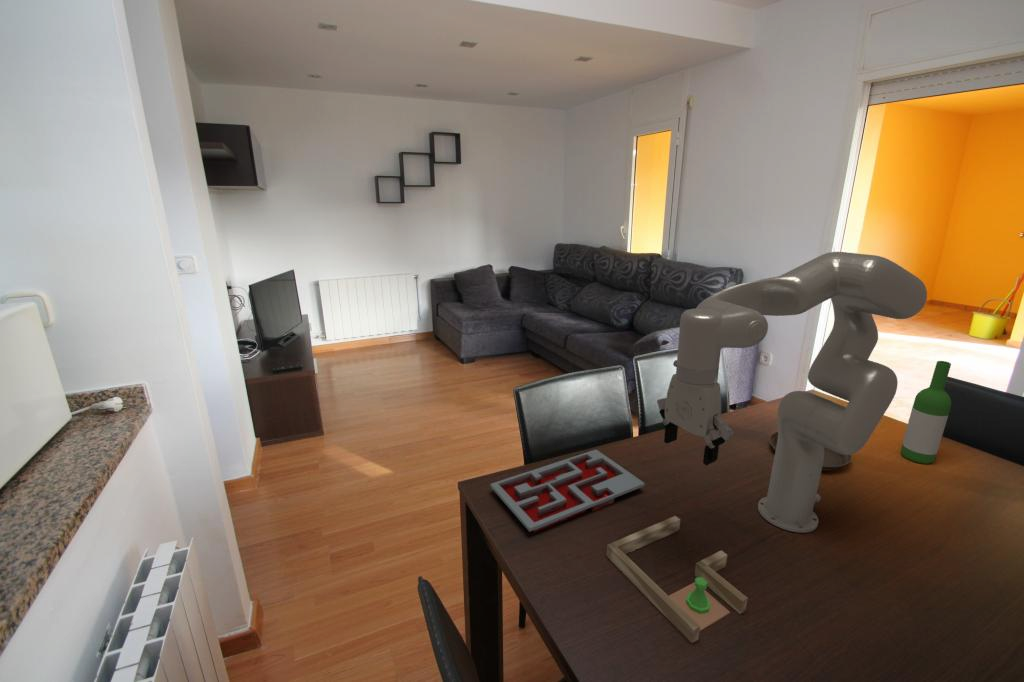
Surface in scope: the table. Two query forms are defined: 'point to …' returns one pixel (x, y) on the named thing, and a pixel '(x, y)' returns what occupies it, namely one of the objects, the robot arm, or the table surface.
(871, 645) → the table surface
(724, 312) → the robot arm
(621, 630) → the table surface
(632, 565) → the bent track
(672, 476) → the table surface
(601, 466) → the maze game
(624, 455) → the table surface
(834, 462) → the plant saucer
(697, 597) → the game piece
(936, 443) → the wine bottle
